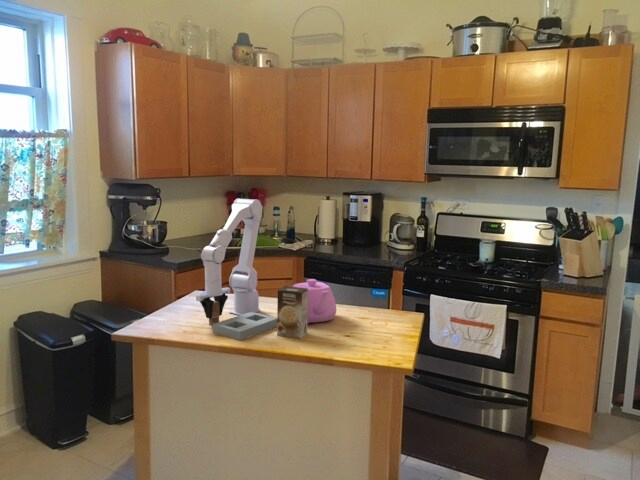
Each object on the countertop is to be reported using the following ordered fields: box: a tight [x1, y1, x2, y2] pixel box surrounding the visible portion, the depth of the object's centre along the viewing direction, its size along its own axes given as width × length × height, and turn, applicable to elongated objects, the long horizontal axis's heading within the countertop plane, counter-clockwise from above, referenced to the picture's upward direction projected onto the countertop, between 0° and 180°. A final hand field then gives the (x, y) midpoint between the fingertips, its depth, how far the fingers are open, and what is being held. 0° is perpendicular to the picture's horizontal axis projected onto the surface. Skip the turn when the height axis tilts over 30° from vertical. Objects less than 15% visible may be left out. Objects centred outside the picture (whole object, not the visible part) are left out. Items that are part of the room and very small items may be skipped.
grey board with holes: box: [212, 312, 277, 341], centre depth 186 cm, size 19×13×3 cm
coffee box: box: [276, 285, 308, 339], centre depth 180 cm, size 9×6×16 cm
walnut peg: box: [208, 300, 221, 327], centre depth 190 cm, size 4×4×8 cm
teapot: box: [292, 278, 337, 325], centre depth 194 cm, size 23×21×15 cm
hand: (213, 316), depth 190 cm, fingers open, 4 cm apart
